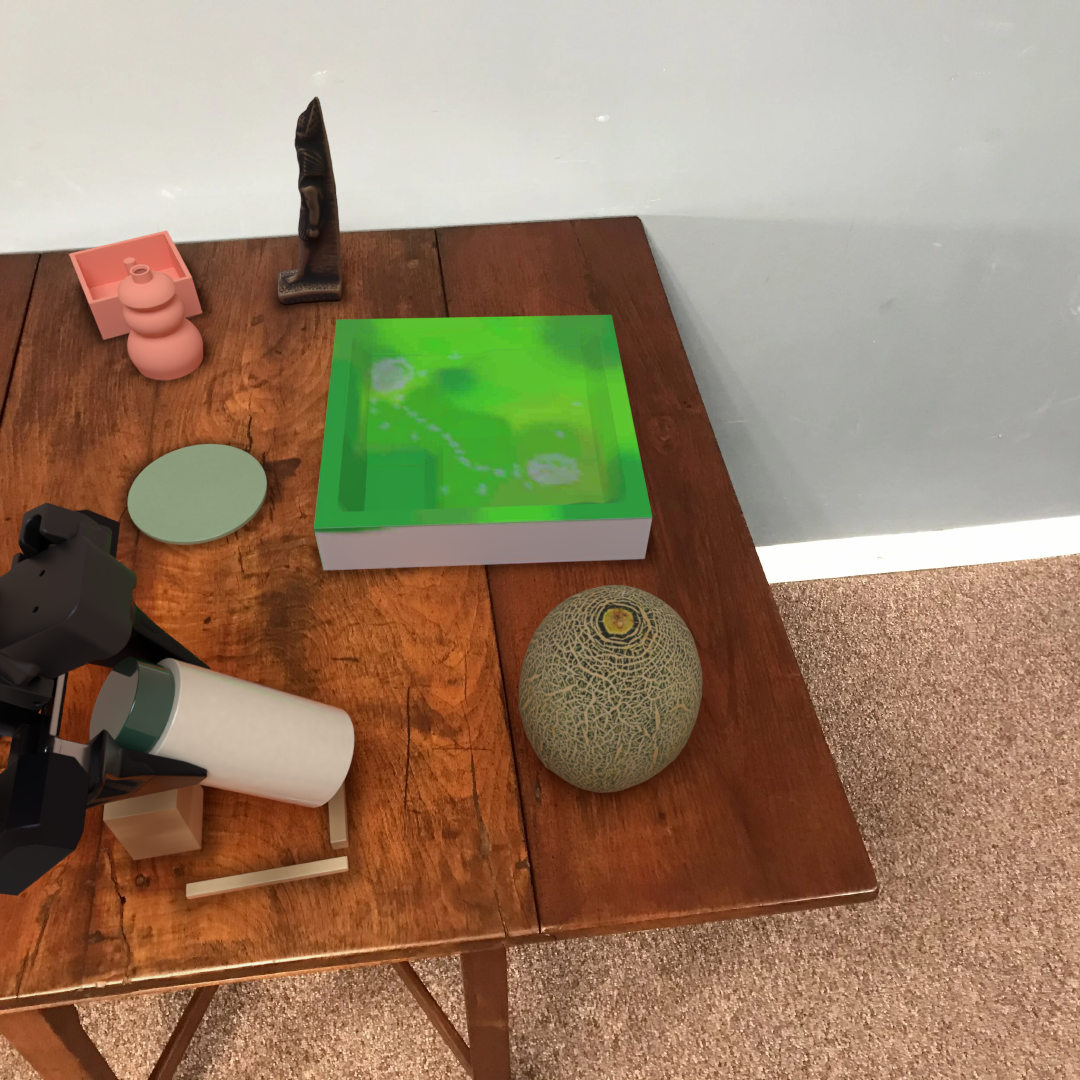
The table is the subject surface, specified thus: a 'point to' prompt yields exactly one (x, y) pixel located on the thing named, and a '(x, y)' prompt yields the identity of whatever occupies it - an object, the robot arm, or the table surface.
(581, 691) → the fruit
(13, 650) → the robot arm
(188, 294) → the pottery
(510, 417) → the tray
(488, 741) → the table surface
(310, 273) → the statue
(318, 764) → the jar
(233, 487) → the coaster
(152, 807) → the jar stand
